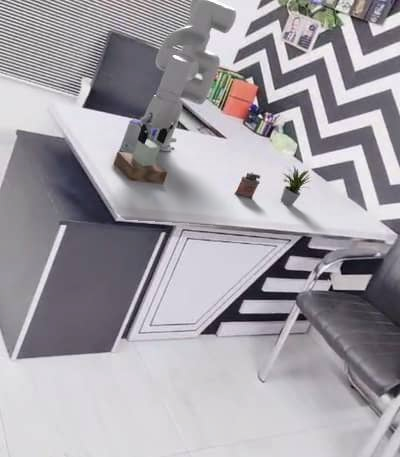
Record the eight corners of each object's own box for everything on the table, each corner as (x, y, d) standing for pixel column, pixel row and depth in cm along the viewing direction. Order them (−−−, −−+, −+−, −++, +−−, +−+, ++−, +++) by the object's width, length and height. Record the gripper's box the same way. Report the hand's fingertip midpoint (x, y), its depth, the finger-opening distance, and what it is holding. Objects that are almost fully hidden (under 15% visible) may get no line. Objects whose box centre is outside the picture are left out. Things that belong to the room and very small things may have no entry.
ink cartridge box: (147, 158, 199) (160, 123, 193) (142, 161, 194) (156, 125, 188) (124, 147, 200) (136, 112, 194) (118, 150, 195) (131, 114, 189)
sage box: (141, 157, 183) (148, 139, 180) (153, 165, 181) (160, 147, 178) (131, 158, 179) (138, 139, 176) (143, 166, 177) (150, 147, 174)
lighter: (236, 196, 201) (247, 173, 197) (233, 192, 204) (243, 169, 200) (253, 199, 206) (264, 177, 202) (249, 195, 208) (259, 173, 204)
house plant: (276, 191, 228) (293, 157, 222) (304, 206, 224) (322, 173, 218) (266, 196, 216) (283, 161, 209) (295, 213, 212) (314, 178, 205)
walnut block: (146, 168, 190) (151, 156, 188) (162, 185, 183) (167, 172, 181) (113, 164, 181) (118, 151, 179) (128, 181, 174) (133, 168, 172)
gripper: (176, 91, 179) (159, 136, 186) (142, 87, 165) (125, 136, 172) (192, 101, 176) (174, 146, 183) (159, 98, 162) (140, 147, 169)
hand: (150, 141), depth 178 cm, fingers open, 9 cm apart
